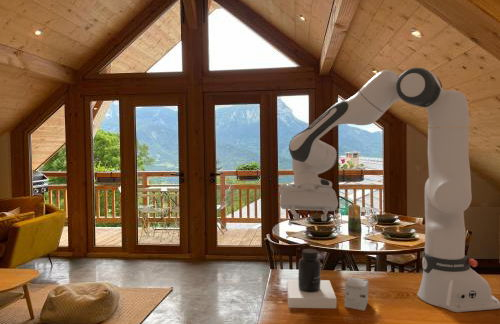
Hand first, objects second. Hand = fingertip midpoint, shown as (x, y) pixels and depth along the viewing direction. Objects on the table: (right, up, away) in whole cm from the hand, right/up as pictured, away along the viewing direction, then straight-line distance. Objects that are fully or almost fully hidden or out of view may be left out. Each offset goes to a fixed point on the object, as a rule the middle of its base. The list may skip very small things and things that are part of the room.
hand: (310, 219), depth 135 cm
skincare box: (+11, -24, -16) cm, 30 cm away
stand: (-2, -23, -11) cm, 25 cm away
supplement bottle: (-2, -20, -11) cm, 23 cm away
